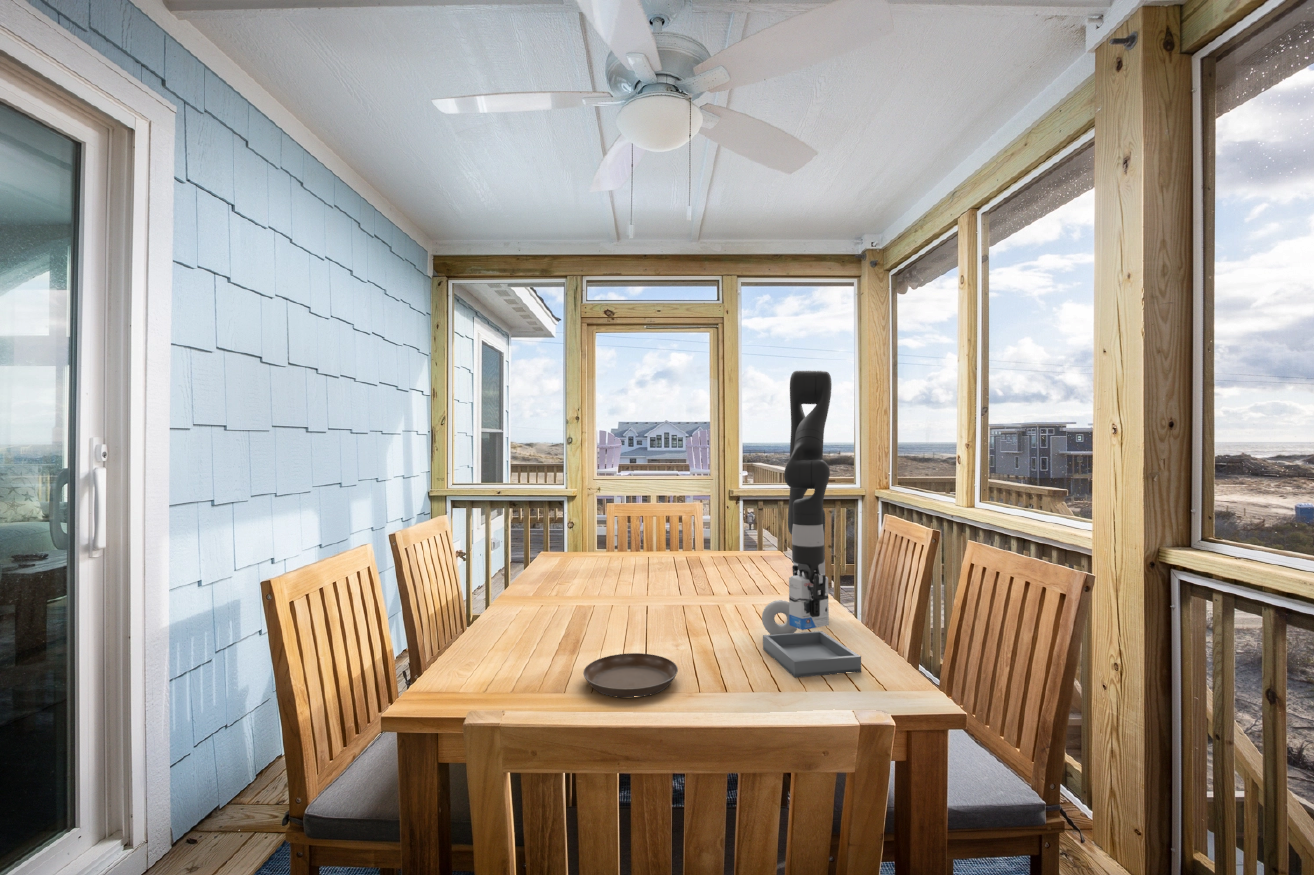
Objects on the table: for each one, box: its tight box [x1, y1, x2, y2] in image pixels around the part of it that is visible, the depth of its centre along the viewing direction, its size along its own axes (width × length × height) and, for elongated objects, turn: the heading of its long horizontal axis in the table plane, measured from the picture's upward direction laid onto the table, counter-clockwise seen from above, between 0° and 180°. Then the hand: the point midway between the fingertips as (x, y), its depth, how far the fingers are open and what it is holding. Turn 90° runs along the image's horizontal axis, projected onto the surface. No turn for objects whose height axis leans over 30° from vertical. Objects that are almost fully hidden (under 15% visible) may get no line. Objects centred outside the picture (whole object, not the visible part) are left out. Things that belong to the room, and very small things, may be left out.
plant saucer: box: [583, 652, 679, 698], centre depth 137 cm, size 21×21×3 cm
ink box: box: [788, 575, 830, 631], centre depth 150 cm, size 8×5×12 cm, turn 117°
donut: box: [761, 599, 798, 635], centre depth 168 cm, size 10×4×10 cm, turn 81°
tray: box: [762, 630, 862, 679], centre depth 150 cm, size 20×16×4 cm
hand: (808, 612), depth 150 cm, fingers closed on ink box, 5 cm apart
